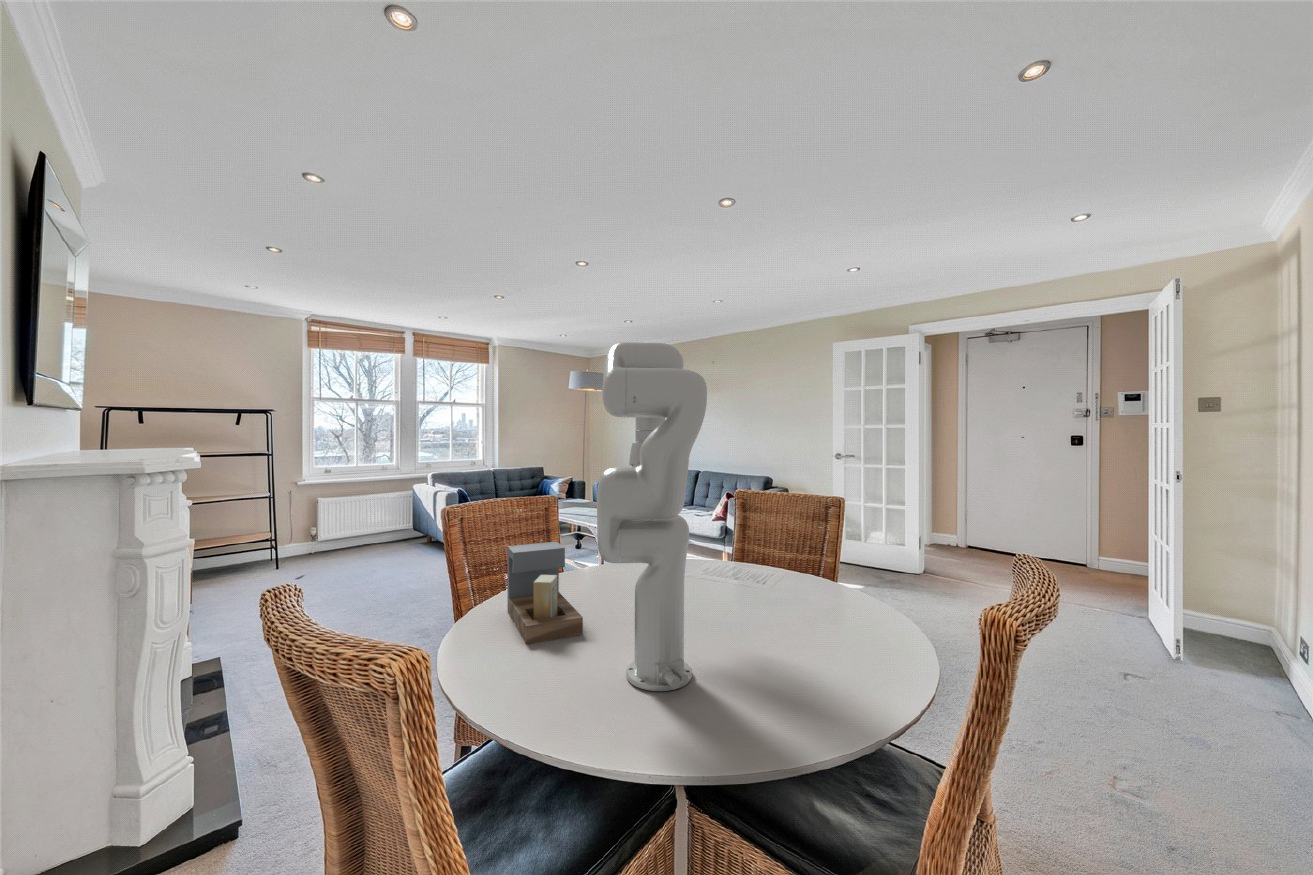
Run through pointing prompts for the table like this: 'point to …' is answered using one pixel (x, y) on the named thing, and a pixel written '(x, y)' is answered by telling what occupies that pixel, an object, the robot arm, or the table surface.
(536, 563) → the grey overhang panel
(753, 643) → the table surface
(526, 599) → the socket block
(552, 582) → the skincare box
